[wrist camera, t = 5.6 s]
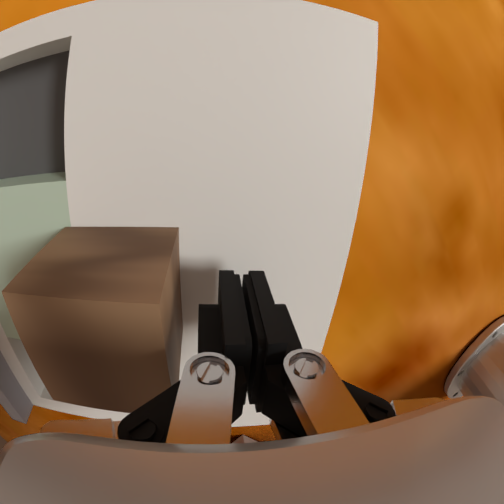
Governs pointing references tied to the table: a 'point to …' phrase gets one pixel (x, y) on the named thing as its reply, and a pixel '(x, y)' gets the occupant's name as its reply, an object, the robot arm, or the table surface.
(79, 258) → the block
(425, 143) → the table surface
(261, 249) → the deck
